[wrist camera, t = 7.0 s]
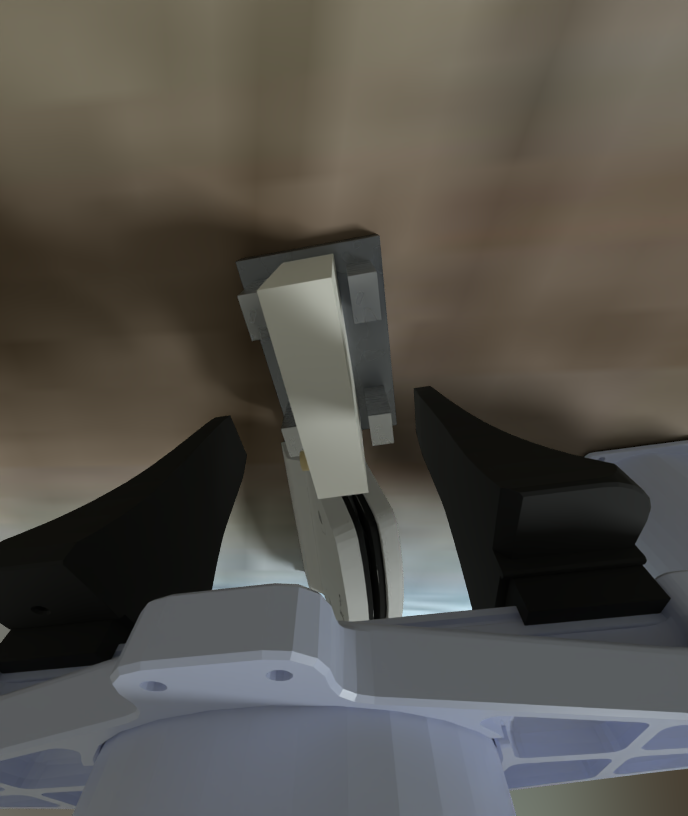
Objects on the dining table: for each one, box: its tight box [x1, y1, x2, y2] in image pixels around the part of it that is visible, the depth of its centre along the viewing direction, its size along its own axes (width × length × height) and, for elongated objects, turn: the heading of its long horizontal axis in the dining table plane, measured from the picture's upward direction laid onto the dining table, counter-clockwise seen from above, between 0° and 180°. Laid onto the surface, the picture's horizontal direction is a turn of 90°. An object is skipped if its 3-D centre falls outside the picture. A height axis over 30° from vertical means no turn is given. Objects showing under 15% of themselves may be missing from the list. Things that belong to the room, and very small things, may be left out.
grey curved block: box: [281, 442, 404, 622], centre depth 24 cm, size 17×5×10 cm, turn 2°
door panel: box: [257, 254, 369, 499], centre depth 16 cm, size 3×10×6 cm, turn 9°
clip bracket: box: [236, 234, 397, 457], centre depth 17 cm, size 7×11×4 cm, turn 9°
